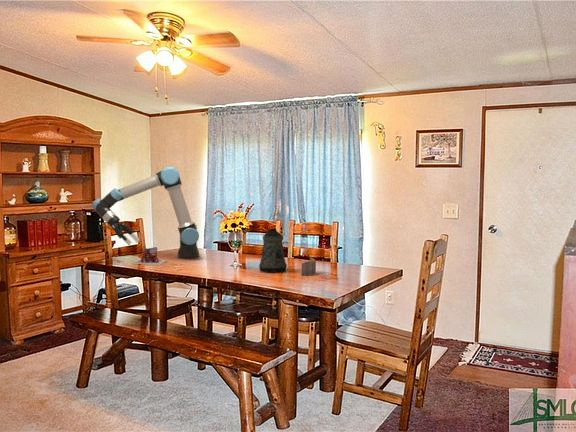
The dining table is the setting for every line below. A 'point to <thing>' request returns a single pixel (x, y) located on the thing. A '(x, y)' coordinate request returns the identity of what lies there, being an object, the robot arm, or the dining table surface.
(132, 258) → the cream bay
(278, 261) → the dark tapered vessel
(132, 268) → the dining table surface
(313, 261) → the grey rectangular block
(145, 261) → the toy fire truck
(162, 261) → the grey bay
